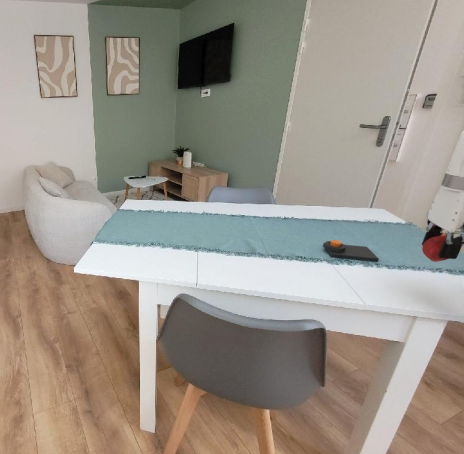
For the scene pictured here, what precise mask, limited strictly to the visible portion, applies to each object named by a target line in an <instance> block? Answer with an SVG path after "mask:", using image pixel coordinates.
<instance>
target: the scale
mask: <svg viewBox="0 0 464 454" xmlns="http://www.w3.org/2000/svg"><path fill="white" fill-rule="evenodd" d="M330 242H331V240H326V241H325V242H322V243H323V244H322V247H323V248H324V250H325V251H326V253H327V255H328V256H329V258H334V259H343V260H351V261H361V262H370V263H371V262H372V263H379V257H378V256H377V255H376V254H375V253H374V252H373V251H372V250H371V249H370V248H369V247H368V246H364V245H363V246H362V245H351V244H344V243H343V242H341V247H334V246H331V245H330Z"/></svg>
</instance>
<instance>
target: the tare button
mask: <svg viewBox="0 0 464 454" xmlns="http://www.w3.org/2000/svg"><path fill="white" fill-rule="evenodd" d="M330 241H331V242H330V245H331V246H334V247H341V243H342V241H341V240H336V239H332V240H330Z"/></svg>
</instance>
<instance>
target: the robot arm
mask: <svg viewBox="0 0 464 454" xmlns="http://www.w3.org/2000/svg"><path fill="white" fill-rule="evenodd" d="M426 218H427V219H426V220H427V221H426V223H427V226H426V228H425V230H426V231H425V233H424V234H425V235H424V237H423V240H422V241H421V246H423V244H424V242H425V241H427V240H428V239H430V238H432V237H436V236H440V235H442V233H444V232H443V231H444V230H445V231H446V233H447V240H446V243H445V242H443V245H442V247H441V249H440V252H439V254H438V257H440V258H447V260H456V259H457V258H458V256H459V254H460V252H461V250H462V247H463V246H464V130H462V132H461V133H460V135H459V136H458V140H457V142H456V145H455V148H454V150H453V153H452V155H451V158H450V160H449V164H448V166H447V169H446V171H445V174H444V175H443V179H442V182H441V184H440V187H439V190H438V191H437V193H436V195H435V197H434V199H433V201H432V203H431V205H430V208H429V211H428V212H427V213H426ZM457 230H460V231H457ZM455 235H459V236H456V237H455Z"/></svg>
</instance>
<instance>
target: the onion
mask: <svg viewBox="0 0 464 454" xmlns="http://www.w3.org/2000/svg"><path fill="white" fill-rule="evenodd" d="M446 240H447V232H443V233H442V235H440V236H436V237H432V238H430V239H428V240H427V241H425V242H424V244H423V245H421V247H422V248H421V250H422V254H423V255H424V256H425V257H426V258H427V259H429V260H430V261H431V262H433V263H434V262H435V263H436V262H442V261H443V262H444V261H447V260H448V259H447V258H440V257H438V254H439V252H440V249H441V247H442V245H443V242H445V243H446Z"/></svg>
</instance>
